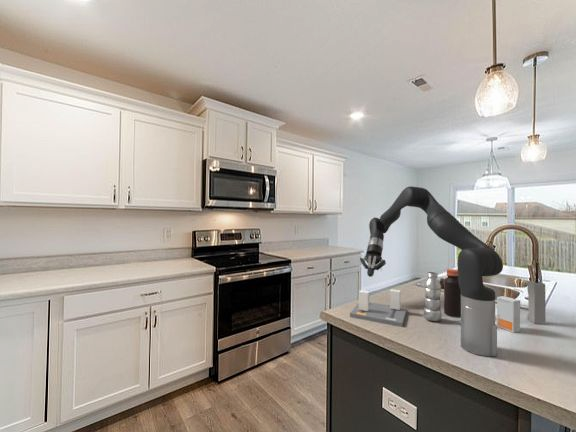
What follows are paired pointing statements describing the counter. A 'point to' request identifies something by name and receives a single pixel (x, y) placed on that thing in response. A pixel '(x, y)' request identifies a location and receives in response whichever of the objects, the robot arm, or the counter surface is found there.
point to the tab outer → (364, 300)
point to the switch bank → (381, 314)
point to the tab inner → (395, 299)
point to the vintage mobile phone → (536, 300)
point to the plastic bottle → (432, 297)
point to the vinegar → (452, 294)
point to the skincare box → (508, 313)
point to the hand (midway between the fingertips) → (370, 275)
